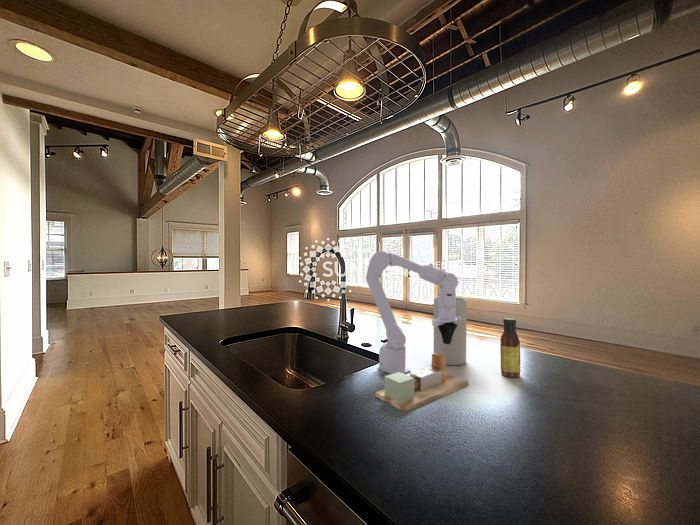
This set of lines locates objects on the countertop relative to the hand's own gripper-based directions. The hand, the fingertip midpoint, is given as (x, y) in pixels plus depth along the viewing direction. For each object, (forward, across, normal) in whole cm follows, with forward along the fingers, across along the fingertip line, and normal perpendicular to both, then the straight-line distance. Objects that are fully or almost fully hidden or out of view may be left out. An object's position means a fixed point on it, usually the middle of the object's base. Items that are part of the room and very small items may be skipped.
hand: (446, 343), depth 111 cm
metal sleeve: (+9, -18, -5) cm, 21 cm away
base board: (+10, -19, -5) cm, 22 cm away
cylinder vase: (+11, +12, +7) cm, 17 cm away
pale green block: (+9, -30, -5) cm, 32 cm away
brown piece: (+9, -20, -5) cm, 23 cm away
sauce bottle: (+11, +16, -15) cm, 24 cm away
